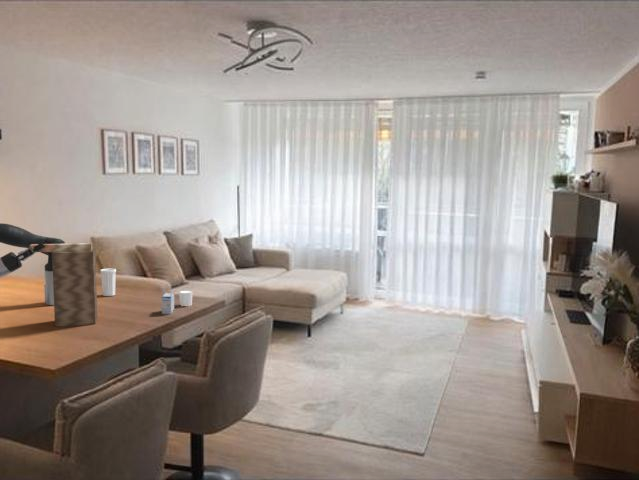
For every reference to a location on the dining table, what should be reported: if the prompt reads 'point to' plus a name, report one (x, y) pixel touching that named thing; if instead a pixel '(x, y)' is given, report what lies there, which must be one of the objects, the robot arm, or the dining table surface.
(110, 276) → the cup
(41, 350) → the dining table surface
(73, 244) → the wooden block
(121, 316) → the dining table surface
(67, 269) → the walnut pillar
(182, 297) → the white tub
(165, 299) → the medicine box
